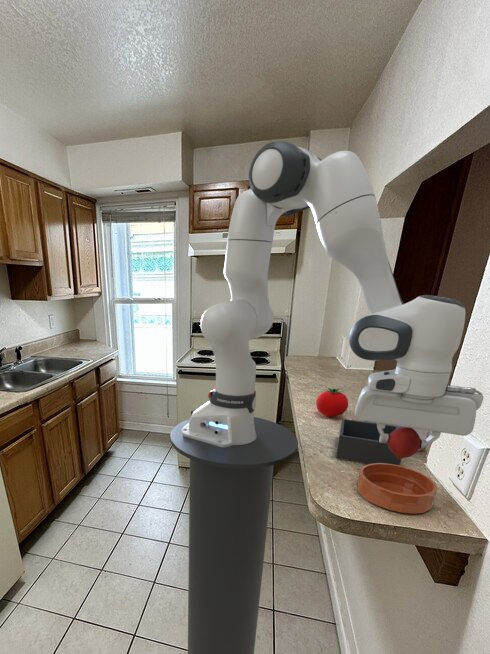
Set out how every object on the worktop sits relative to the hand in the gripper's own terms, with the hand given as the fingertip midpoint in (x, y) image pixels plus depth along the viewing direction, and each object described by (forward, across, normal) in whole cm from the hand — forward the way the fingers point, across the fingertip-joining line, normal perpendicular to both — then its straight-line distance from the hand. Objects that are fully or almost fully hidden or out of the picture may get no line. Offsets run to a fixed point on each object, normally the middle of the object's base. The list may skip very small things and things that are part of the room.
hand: (402, 445), depth 75 cm
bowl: (+12, -1, 0) cm, 12 cm away
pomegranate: (+3, 0, 0) cm, 3 cm away
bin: (+12, +4, -22) cm, 25 cm away
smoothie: (+12, -8, -31) cm, 34 cm away
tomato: (+13, +15, -50) cm, 54 cm away
